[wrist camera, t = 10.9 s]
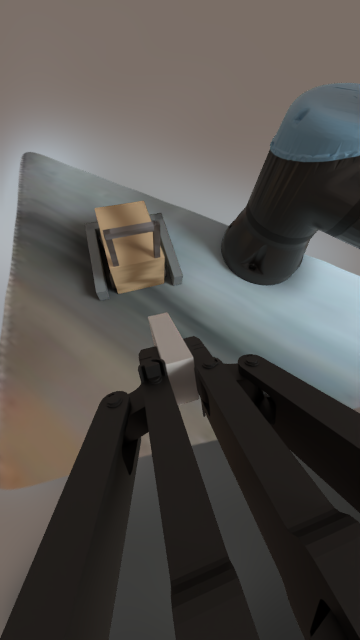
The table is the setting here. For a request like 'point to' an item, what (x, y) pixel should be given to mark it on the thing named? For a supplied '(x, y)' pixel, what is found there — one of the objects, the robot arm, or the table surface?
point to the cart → (131, 246)
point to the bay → (97, 263)
